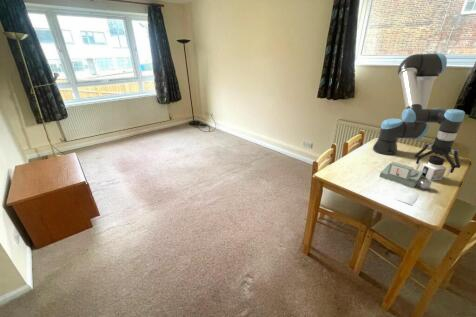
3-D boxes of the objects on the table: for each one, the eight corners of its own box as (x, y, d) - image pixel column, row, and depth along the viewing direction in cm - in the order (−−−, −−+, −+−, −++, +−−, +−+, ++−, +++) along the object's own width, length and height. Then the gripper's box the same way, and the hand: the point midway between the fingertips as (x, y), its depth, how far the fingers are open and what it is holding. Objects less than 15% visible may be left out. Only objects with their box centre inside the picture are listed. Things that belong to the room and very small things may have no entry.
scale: (389, 166, 143) (393, 152, 139) (421, 176, 132) (427, 161, 127) (379, 177, 133) (383, 162, 129) (413, 188, 121) (419, 172, 117)
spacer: (418, 184, 125) (420, 178, 123) (429, 187, 121) (432, 181, 120) (416, 188, 122) (418, 181, 120) (427, 191, 118) (430, 185, 117)
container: (430, 181, 127) (438, 160, 121) (418, 174, 134) (425, 154, 128) (442, 179, 128) (450, 159, 122) (429, 172, 135) (437, 153, 129)
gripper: (415, 135, 127) (404, 167, 136) (476, 146, 110) (459, 183, 119) (418, 131, 131) (408, 163, 140) (478, 142, 114) (461, 178, 124)
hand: (431, 172), depth 130 cm, fingers open, 13 cm apart
